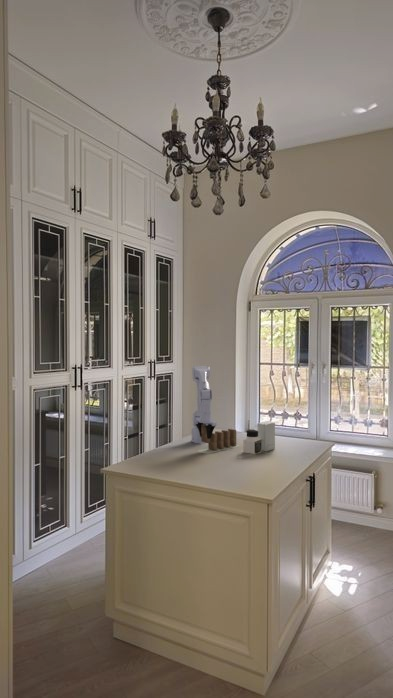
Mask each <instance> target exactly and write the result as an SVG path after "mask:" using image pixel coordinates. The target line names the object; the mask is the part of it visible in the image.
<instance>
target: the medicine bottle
mask: <svg viewBox="0 0 393 698" xmlns="http://www.w3.org/2000/svg"><path fill="white" fill-rule="evenodd" d="M242 441H243V444H242V445H243V446H242V447H243V448H242V450H243V451H242V452H243V453H246V454H251V455H255V456H256V455H257V454H260V453H261V452H262V450H261V439H260V438H258V429H253V428H251V429H247V430H246V438H244V439H243V440H242Z"/></svg>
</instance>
